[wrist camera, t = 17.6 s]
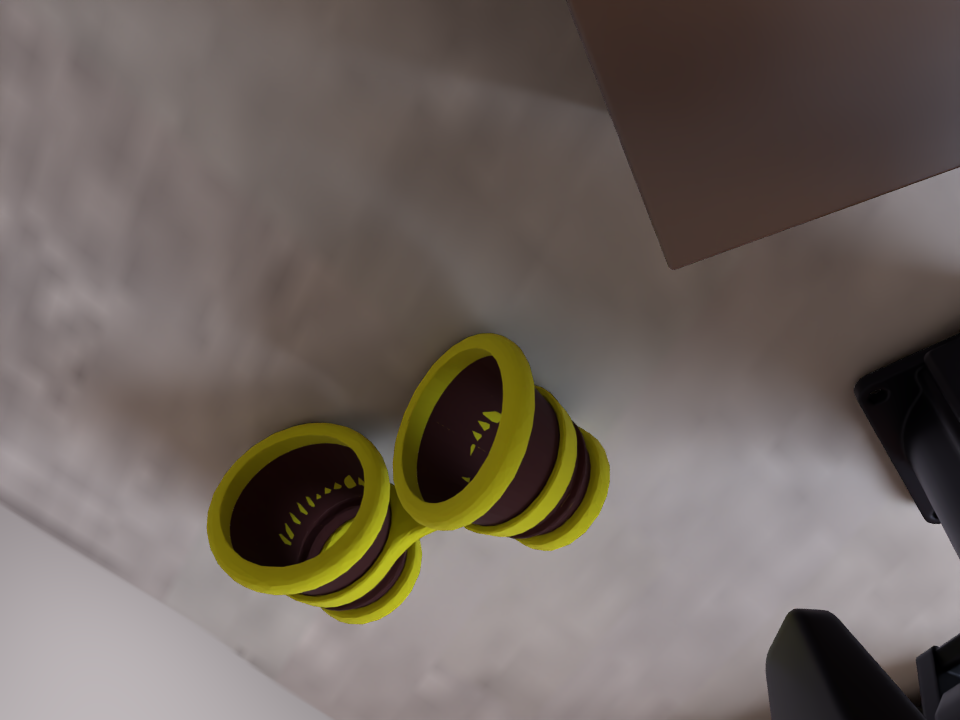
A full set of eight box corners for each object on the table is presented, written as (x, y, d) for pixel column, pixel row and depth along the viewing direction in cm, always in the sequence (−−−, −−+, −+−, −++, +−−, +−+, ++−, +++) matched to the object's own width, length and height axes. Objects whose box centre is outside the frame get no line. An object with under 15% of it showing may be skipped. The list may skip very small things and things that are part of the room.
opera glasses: (328, 519, 29) (328, 670, 26) (210, 441, 26) (191, 606, 22) (601, 397, 26) (640, 552, 23) (509, 290, 22) (539, 455, 19)
